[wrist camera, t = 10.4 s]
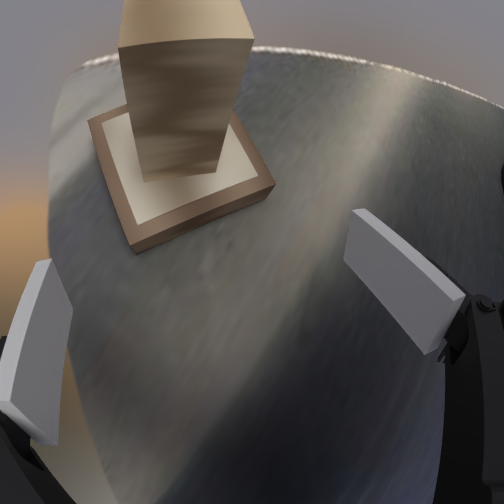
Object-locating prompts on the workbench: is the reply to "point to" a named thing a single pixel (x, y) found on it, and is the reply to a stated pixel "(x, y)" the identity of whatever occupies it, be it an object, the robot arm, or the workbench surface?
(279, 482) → the workbench surface
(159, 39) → the oak block
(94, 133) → the plinth
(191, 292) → the workbench surface
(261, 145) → the workbench surface
